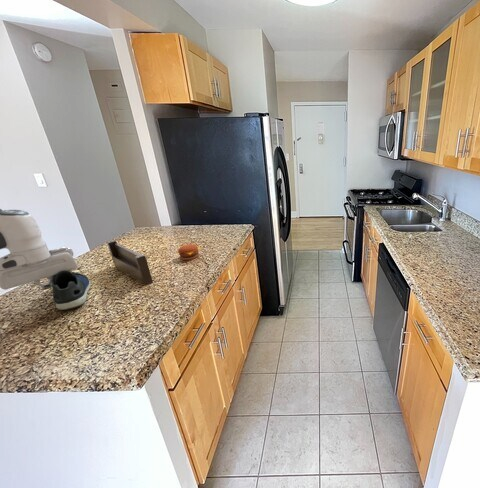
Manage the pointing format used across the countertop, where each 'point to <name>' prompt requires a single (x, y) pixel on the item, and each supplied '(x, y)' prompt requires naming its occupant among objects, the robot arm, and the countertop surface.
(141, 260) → the dark brown channel tray
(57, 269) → the robot arm
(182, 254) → the hamburger
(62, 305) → the water shoe
